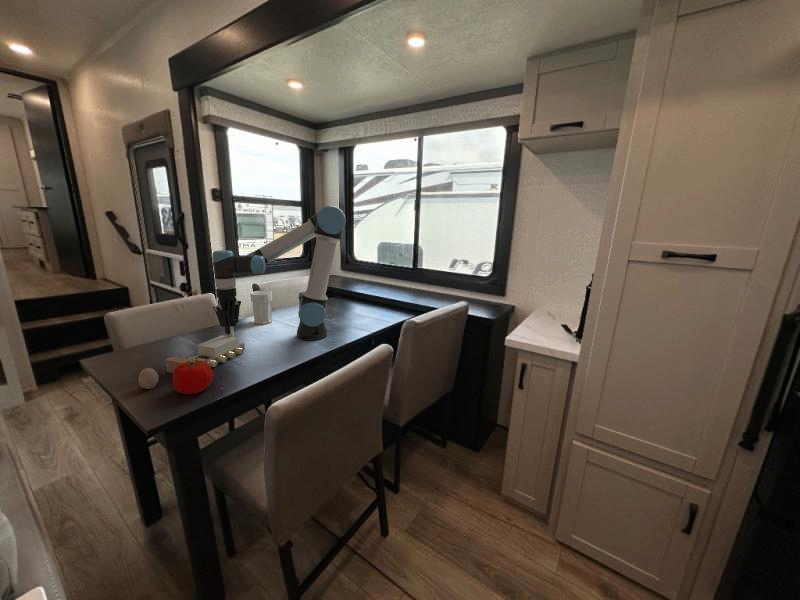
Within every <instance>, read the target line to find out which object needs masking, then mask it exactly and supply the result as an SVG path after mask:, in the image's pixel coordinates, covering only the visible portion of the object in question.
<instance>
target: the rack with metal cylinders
mask: <svg viewBox="0 0 800 600" xmlns="http://www.w3.org/2000/svg"><path fill="white" fill-rule="evenodd" d="M244 351H246V347H245V343H239V347H238V348H235V349H233V350H231V351H229V352H227V353H225V354H222V355H220V356H218V357H216V358H215V357H210V356H205V355H200V354H198V353H196V355H195V356H193V355H189V356H188V357H187V358H181V357H177V356H171V357H169V358H166V359H165V365H166V372H167V373H171V374H173V373H174V370H175V369H176V368H177V367H178V365H179V364H182V363H185V362H188V361H189V362H191V361H192V362H195V361H198V360H201V361H204V362H206V363H207V364H208V365H209V366H210V367H211V368H212V367H214V368H216V367H217V366H218V364H219V363H225V362H227V360H228V359H229V358H231V359H234V358H235V357H236V355H243V354H244V353H245V352H244Z"/></svg>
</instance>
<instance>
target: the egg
mask: <svg viewBox="0 0 800 600" xmlns="http://www.w3.org/2000/svg"><path fill="white" fill-rule="evenodd" d="M137 379H138V380H137V381H138V384H139V386H140V387H141V388H143V389H147V390H151V389H153V388H155V386H157V384H158V382H159V379H160V378H159V374H158V373H157V371H156V370H155V369H153V368H152V367H145V368H143V369H142V370H141V371H140V372H139V374H138V378H137Z"/></svg>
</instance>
